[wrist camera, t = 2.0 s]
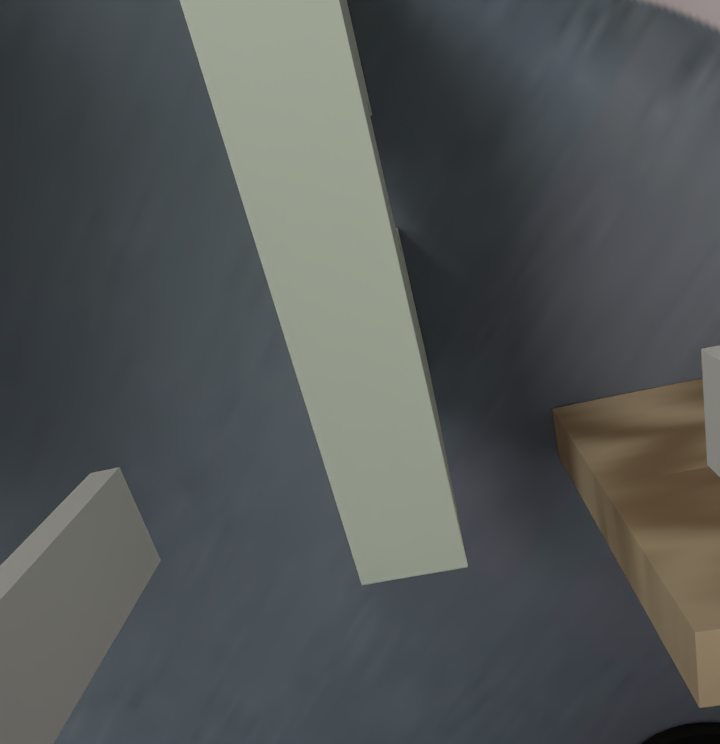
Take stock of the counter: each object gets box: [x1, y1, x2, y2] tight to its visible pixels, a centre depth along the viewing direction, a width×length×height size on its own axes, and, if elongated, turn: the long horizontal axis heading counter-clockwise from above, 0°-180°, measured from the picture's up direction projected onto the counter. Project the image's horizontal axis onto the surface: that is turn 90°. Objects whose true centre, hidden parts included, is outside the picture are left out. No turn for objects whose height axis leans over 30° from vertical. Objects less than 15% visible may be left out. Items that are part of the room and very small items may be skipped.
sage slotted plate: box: [180, 0, 468, 585], centre depth 16 cm, size 16×2×12 cm, turn 14°
